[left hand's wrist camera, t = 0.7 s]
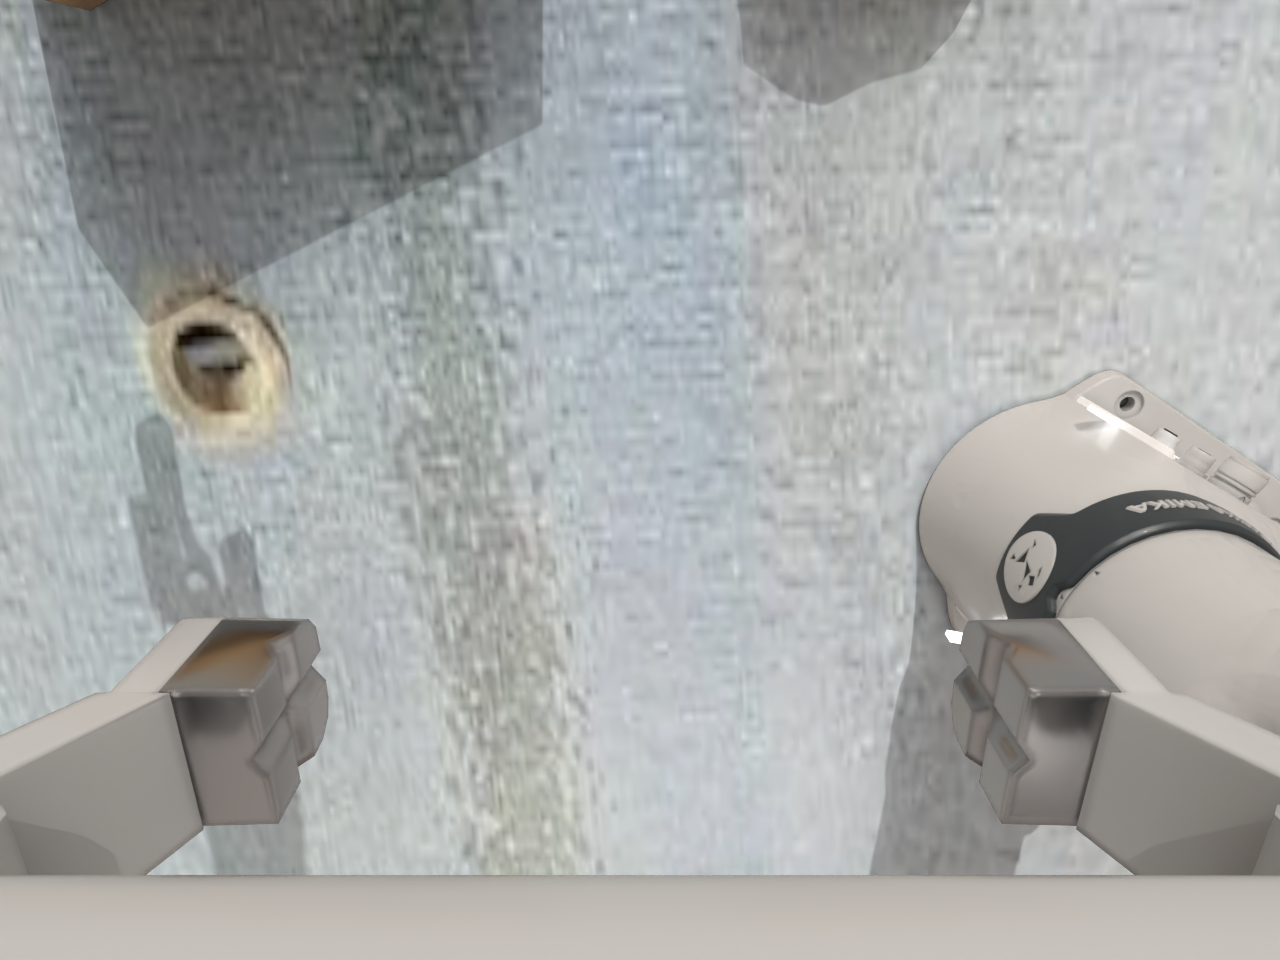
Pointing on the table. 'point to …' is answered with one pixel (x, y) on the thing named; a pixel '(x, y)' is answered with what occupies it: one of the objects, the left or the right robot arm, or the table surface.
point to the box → (80, 3)
